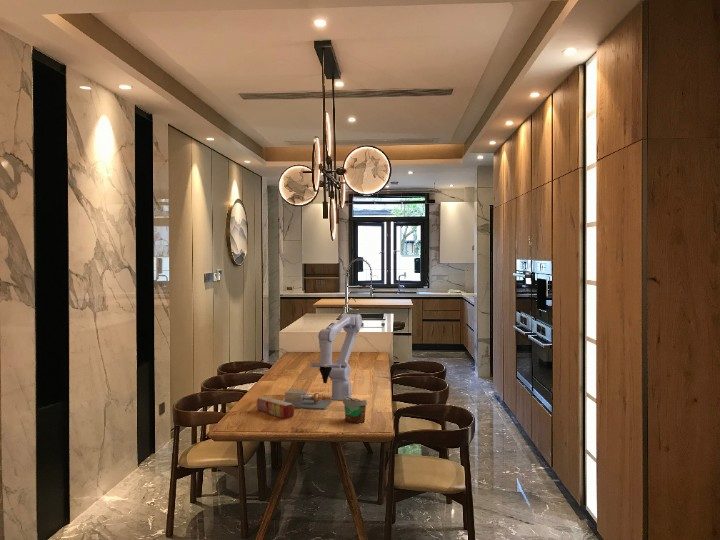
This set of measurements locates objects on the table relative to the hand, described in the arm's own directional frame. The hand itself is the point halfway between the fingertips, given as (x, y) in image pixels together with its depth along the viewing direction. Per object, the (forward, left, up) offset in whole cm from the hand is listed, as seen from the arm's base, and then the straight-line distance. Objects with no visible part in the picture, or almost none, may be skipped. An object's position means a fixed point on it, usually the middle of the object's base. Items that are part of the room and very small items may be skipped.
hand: (325, 382), depth 267 cm
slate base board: (+9, +2, -10) cm, 14 cm away
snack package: (+18, +20, -11) cm, 29 cm away
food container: (-18, +25, -11) cm, 33 cm away
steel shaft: (+11, +2, -9) cm, 14 cm away
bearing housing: (+14, +2, -10) cm, 18 cm away
